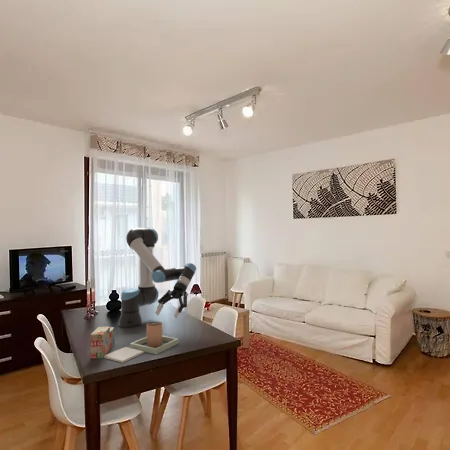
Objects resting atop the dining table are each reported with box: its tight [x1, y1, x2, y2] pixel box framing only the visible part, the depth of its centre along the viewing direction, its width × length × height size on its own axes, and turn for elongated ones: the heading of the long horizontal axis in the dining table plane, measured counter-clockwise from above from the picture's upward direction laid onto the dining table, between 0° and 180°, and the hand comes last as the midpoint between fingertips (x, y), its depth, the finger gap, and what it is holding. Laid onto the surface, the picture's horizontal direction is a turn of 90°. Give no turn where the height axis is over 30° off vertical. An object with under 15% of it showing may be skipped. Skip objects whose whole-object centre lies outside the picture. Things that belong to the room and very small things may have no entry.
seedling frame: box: [129, 335, 179, 355], centre depth 179 cm, size 18×18×2 cm
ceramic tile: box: [103, 346, 145, 364], centre depth 165 cm, size 13×14×1 cm
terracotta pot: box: [146, 321, 163, 348], centre depth 179 cm, size 8×8×12 cm
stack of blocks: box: [90, 326, 116, 360], centre depth 172 cm, size 21×6×12 cm, turn 4°
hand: (165, 315), depth 187 cm, fingers open, 13 cm apart
